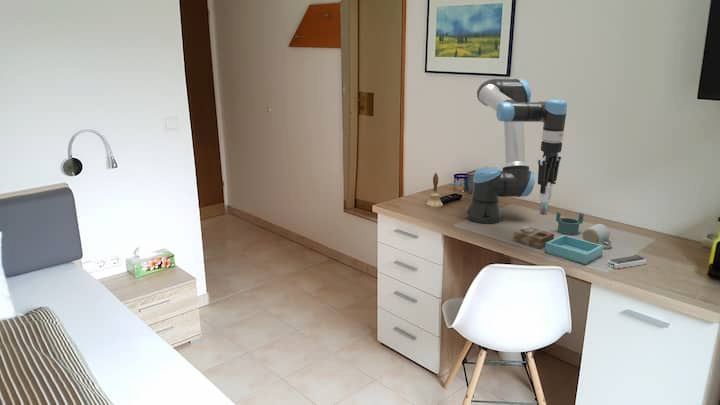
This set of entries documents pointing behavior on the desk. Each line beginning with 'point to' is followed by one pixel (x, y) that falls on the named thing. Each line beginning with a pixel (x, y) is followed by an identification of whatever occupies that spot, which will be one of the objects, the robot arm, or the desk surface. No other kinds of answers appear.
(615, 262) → the multiport hub
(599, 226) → the ceramic mug
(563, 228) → the bracket
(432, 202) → the hand bell
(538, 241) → the brown wooden block
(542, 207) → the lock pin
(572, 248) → the tray
